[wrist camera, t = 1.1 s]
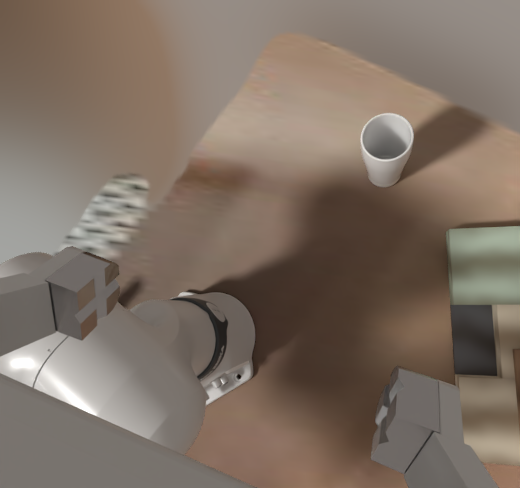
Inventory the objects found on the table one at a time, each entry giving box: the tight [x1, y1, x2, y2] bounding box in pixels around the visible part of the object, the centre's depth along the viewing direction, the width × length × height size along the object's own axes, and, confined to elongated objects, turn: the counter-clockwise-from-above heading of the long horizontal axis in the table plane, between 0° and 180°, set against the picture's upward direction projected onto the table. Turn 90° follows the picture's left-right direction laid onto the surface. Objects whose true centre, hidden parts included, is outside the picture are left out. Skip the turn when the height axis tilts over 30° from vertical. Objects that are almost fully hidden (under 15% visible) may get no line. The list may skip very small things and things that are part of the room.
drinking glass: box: [360, 113, 414, 187], centre depth 62 cm, size 7×7×15 cm
